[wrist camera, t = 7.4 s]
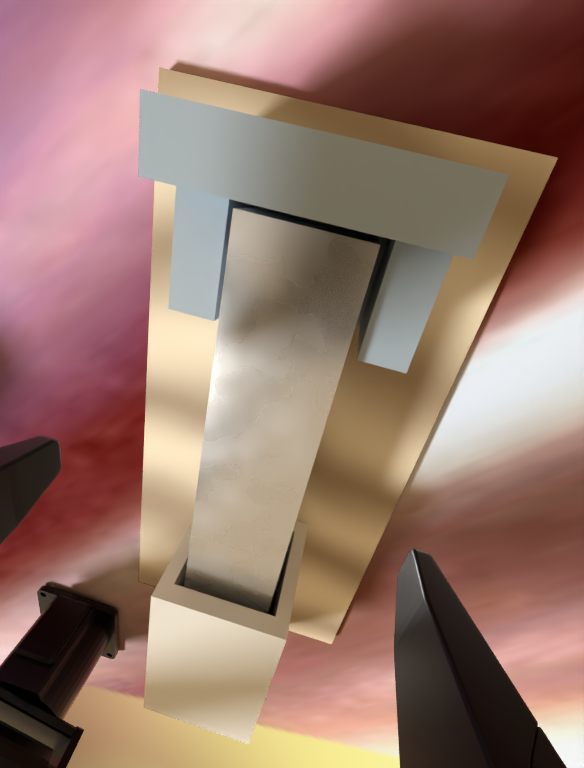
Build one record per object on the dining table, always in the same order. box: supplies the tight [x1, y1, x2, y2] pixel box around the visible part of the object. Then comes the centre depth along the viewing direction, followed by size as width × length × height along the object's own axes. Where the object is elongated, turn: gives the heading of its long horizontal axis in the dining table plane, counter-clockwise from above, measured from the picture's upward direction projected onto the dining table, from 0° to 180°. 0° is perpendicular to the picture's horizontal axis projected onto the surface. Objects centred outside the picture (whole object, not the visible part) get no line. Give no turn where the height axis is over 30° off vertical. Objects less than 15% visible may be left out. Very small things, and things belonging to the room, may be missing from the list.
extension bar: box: [184, 207, 380, 614], centre depth 16 cm, size 17×4×4 cm, turn 168°
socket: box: [138, 89, 509, 373], centre depth 12 cm, size 6×8×6 cm
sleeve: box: [144, 521, 308, 744], centre depth 21 cm, size 10×6×6 cm, turn 168°
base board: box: [139, 67, 558, 644], centre depth 20 cm, size 29×14×1 cm, turn 168°
